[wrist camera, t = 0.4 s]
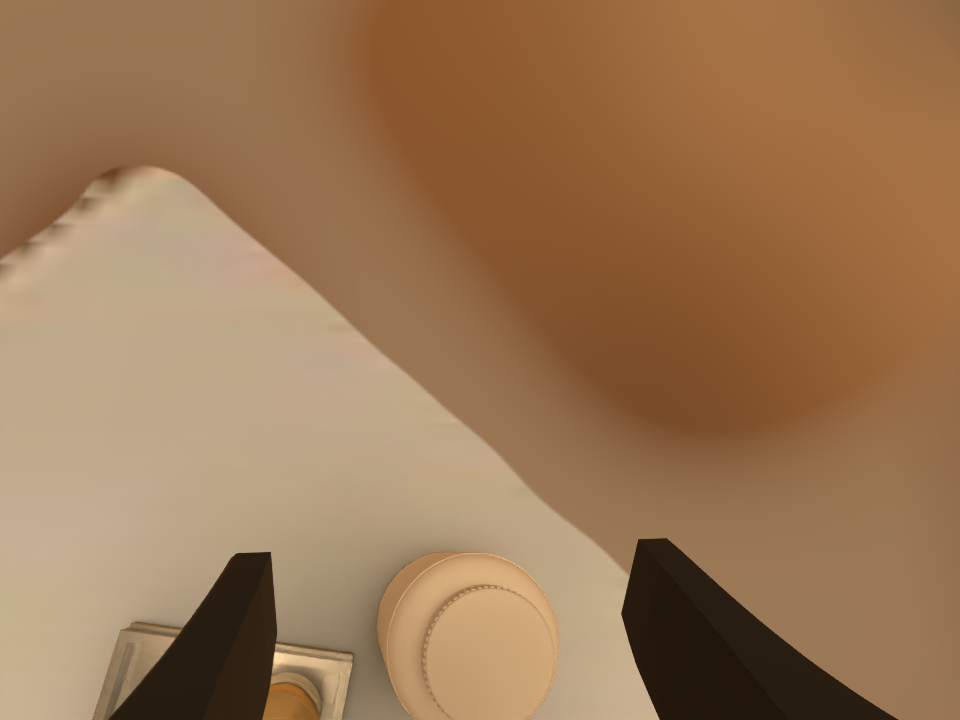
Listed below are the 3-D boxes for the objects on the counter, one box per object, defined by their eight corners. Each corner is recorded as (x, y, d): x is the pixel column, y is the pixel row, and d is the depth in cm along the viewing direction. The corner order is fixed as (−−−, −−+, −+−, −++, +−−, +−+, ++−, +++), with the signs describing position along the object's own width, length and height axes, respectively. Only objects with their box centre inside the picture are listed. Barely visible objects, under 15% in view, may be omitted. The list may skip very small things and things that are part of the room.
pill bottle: (364, 686, 37) (374, 764, 23) (388, 544, 40) (409, 535, 26) (497, 700, 38) (583, 782, 24) (511, 561, 41) (597, 561, 27)
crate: (327, 782, 35) (325, 797, 33) (95, 755, 34) (76, 769, 31) (353, 653, 38) (353, 659, 35) (136, 621, 36) (121, 626, 34)
